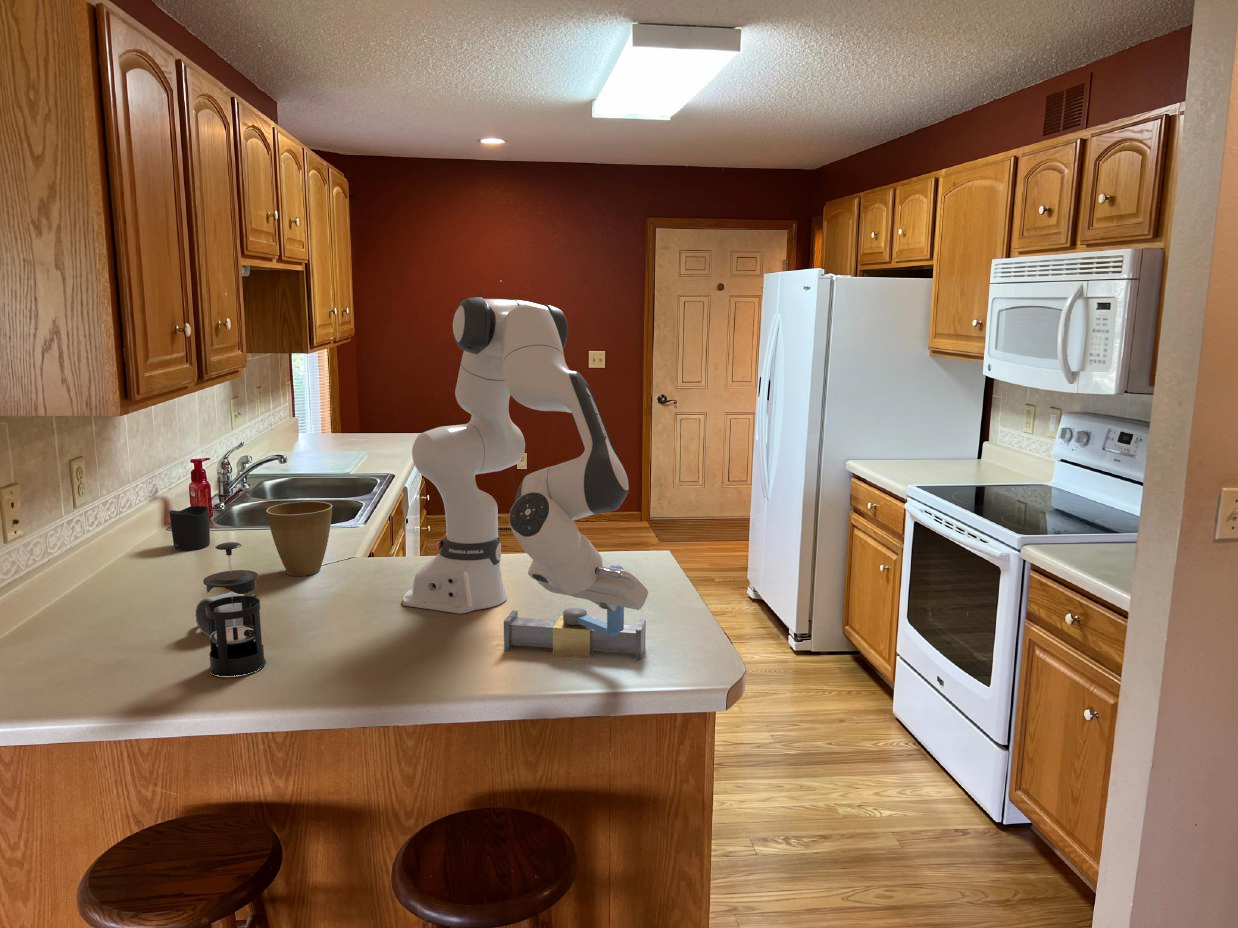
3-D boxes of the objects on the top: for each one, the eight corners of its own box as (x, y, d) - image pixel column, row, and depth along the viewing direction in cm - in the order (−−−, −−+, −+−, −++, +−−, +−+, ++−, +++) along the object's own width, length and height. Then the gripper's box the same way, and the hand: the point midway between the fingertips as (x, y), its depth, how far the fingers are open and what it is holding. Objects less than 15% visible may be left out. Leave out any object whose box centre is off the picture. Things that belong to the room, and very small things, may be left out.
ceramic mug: (256, 626, 182) (253, 590, 181) (222, 640, 175) (218, 602, 174) (220, 618, 187) (216, 583, 186) (185, 631, 180) (181, 594, 179)
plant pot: (349, 568, 221) (345, 505, 218) (298, 585, 208) (293, 517, 205) (308, 559, 228) (304, 497, 225) (257, 574, 216) (252, 509, 213)
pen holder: (177, 542, 243) (173, 506, 241) (214, 540, 245) (211, 504, 243) (168, 552, 234) (165, 515, 232) (207, 550, 236) (204, 513, 234)
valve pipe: (503, 651, 170) (503, 621, 169) (513, 639, 176) (512, 609, 175) (640, 661, 166) (640, 630, 165) (645, 648, 172) (645, 618, 171)
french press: (247, 681, 157) (237, 553, 153) (196, 678, 158) (185, 551, 154) (280, 654, 168) (271, 535, 164) (232, 652, 169) (222, 533, 165)
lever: (558, 620, 170) (557, 552, 167) (576, 615, 173) (575, 547, 170) (613, 642, 159) (613, 569, 157) (630, 636, 162) (631, 564, 160)
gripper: (634, 557, 145) (667, 600, 154) (535, 541, 156) (572, 581, 166) (618, 591, 142) (653, 632, 151) (519, 572, 153) (557, 611, 163)
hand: (610, 606), depth 159 cm, fingers closed
